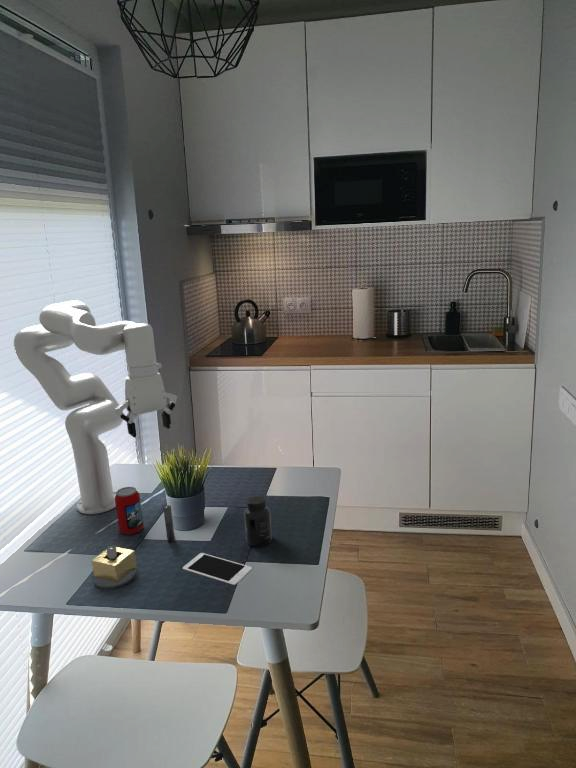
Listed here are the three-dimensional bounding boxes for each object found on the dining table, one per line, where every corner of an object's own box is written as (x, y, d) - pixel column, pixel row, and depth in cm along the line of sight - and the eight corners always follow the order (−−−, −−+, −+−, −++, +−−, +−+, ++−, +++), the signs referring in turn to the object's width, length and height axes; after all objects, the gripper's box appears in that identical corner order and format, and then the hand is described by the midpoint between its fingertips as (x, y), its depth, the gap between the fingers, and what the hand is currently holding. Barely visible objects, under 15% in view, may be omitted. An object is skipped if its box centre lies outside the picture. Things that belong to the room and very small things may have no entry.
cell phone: (234, 586, 138) (234, 584, 138) (181, 570, 146) (181, 567, 146) (253, 569, 145) (253, 567, 145) (201, 554, 153) (201, 552, 153)
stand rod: (166, 540, 160) (162, 506, 157) (172, 537, 161) (168, 504, 158) (169, 543, 158) (165, 509, 156) (176, 540, 159) (172, 507, 157)
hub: (88, 576, 145) (83, 547, 143) (127, 561, 151) (123, 533, 149) (102, 595, 138) (97, 564, 135) (143, 578, 143) (138, 549, 141)
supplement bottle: (241, 542, 157) (237, 500, 154) (259, 531, 162) (256, 491, 158) (259, 550, 152) (255, 508, 149) (277, 539, 157) (274, 498, 154)
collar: (94, 576, 142) (91, 560, 141) (113, 561, 148) (111, 545, 147) (117, 582, 139) (114, 565, 138) (136, 566, 146) (133, 550, 144)
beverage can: (137, 536, 163) (132, 496, 160) (115, 535, 164) (109, 496, 161) (148, 524, 169) (142, 486, 166) (126, 523, 171) (120, 485, 167)
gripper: (167, 362, 164) (173, 421, 169) (106, 374, 155) (114, 435, 159) (178, 367, 158) (185, 427, 163) (115, 379, 149) (124, 443, 153)
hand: (150, 431), depth 161 cm, fingers open, 9 cm apart
